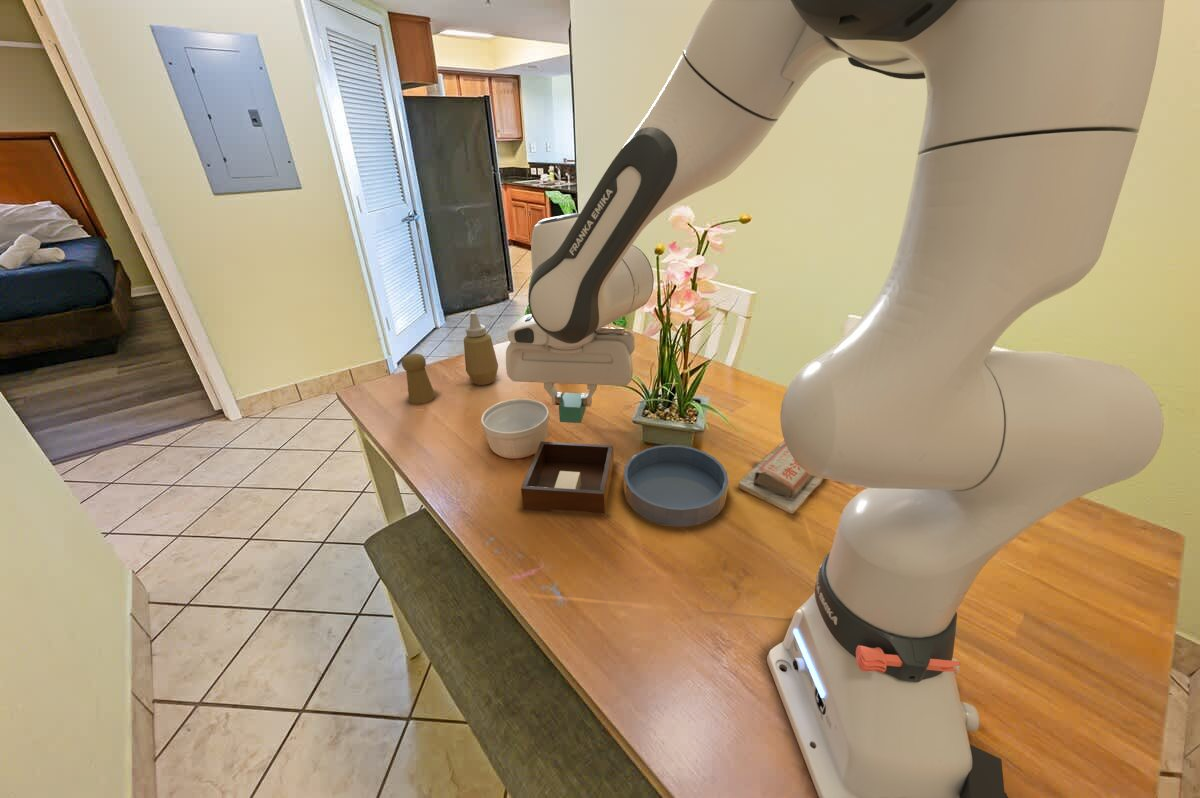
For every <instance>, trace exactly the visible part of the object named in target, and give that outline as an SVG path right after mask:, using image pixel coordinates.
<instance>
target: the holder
mask: <svg viewBox="0 0 1200 798" xmlns="http://www.w3.org/2000/svg"><path fill="white" fill-rule="evenodd" d="M614 463H615V462H614V445H613V444H597V443H595V444H594V443H578V442H577V443H575V442H557V441H546V442H541V443H540V445H539V447H538V449H537V452H536V453H535V454H534V457H533V458H532V462H531V464H530V466H529V469H528V471H527V473H526V475H525V478H524V480H523V483H522V485H521V487H520V492H521V499H522V506H523V511H537V512H538V511H539V512H550V513H551V512H552V511H564V512H565V511H566V512H579V513H594V514H606V508H607V502H608V497H609V491H610V486H611V480H612V476H613V475H612V474H613V468H614ZM560 471H570V472H580V479H581V487H580V489H565V488H554V487H555V484H556V481H557V478H558V475H559V472H560Z"/></svg>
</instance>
